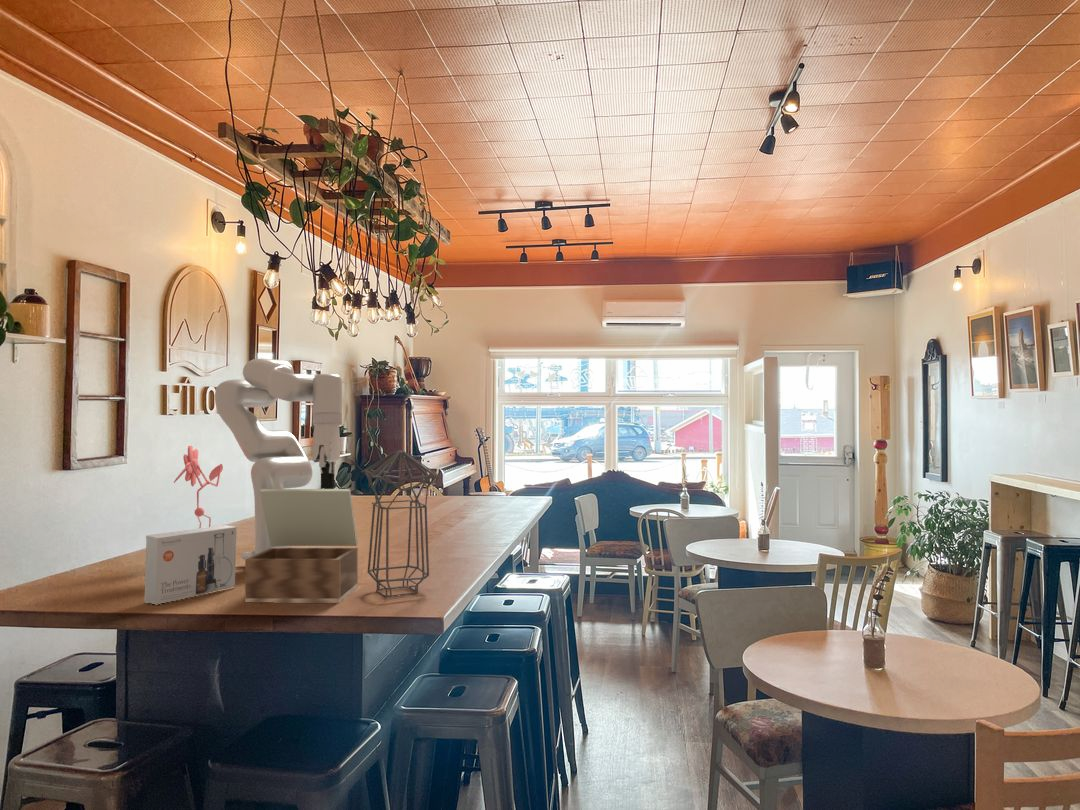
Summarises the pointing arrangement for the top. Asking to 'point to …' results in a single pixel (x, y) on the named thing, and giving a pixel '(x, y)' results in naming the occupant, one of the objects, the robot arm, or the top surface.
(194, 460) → the figurine
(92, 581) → the top surface
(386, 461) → the geometric lantern
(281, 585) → the walnut box
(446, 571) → the top surface
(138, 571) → the top surface
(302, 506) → the lid
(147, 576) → the skincare box
